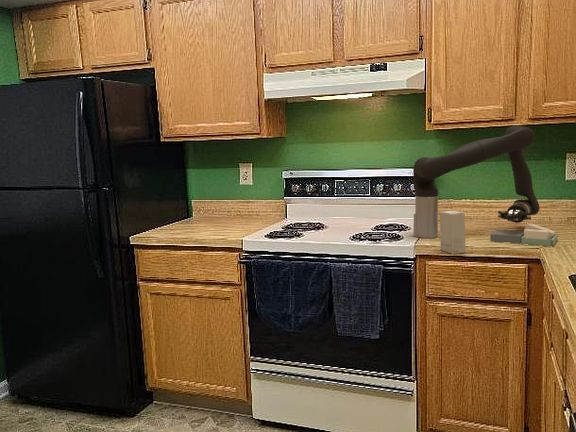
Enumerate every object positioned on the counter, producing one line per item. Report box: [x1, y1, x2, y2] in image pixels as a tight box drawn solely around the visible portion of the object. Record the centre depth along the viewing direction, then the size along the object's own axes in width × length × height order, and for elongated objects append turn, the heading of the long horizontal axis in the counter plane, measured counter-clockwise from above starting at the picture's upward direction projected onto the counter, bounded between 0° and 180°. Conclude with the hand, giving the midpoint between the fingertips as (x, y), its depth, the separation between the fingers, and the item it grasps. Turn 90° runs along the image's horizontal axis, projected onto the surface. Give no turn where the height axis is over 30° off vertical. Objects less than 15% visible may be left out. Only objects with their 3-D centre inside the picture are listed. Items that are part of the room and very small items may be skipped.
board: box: [489, 229, 524, 244], centre depth 208 cm, size 11×11×3 cm
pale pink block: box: [523, 229, 550, 240], centre depth 199 cm, size 5×4×8 cm
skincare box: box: [439, 210, 467, 255], centre depth 191 cm, size 8×6×15 cm
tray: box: [520, 233, 559, 248], centre depth 202 cm, size 11×13×2 cm
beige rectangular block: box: [522, 222, 556, 240], centre depth 203 cm, size 4×4×10 cm
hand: (509, 218), depth 202 cm, fingers closed
